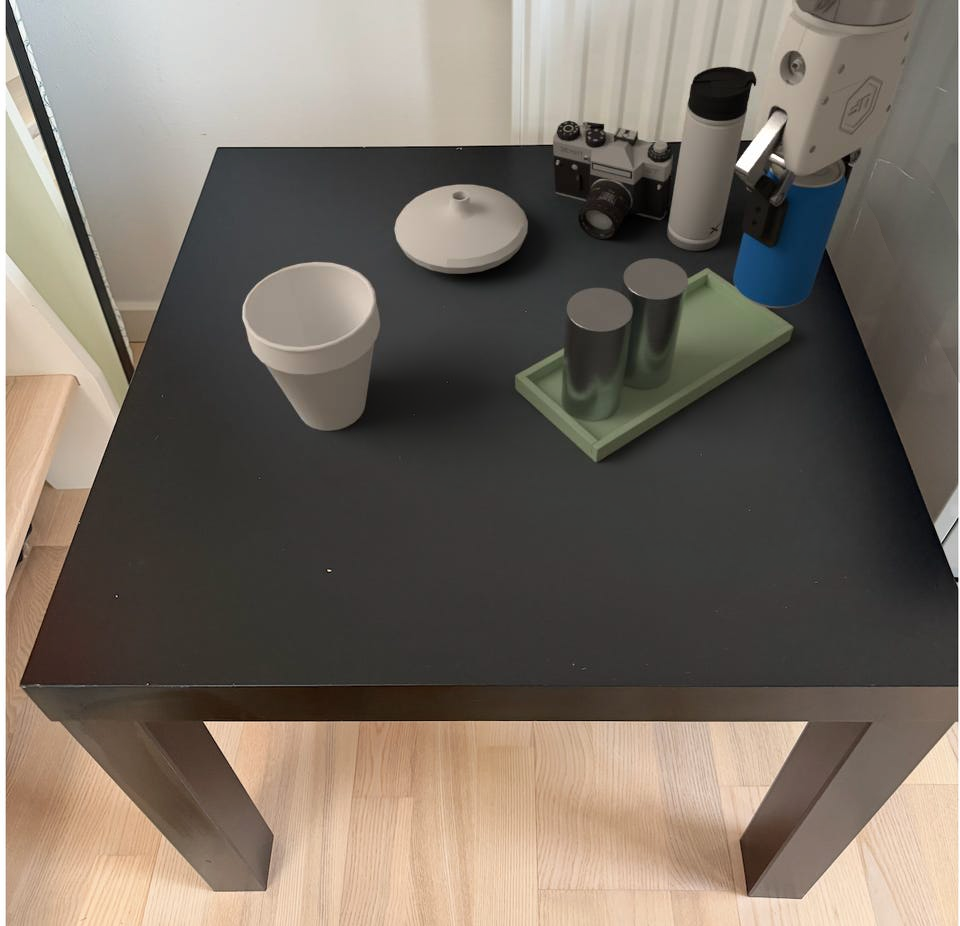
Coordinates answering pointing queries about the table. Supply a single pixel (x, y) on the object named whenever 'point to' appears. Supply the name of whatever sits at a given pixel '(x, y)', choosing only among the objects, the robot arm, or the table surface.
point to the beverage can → (792, 240)
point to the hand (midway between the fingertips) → (790, 218)
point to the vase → (461, 229)
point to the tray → (695, 369)
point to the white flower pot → (316, 338)
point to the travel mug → (708, 156)
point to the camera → (611, 175)
